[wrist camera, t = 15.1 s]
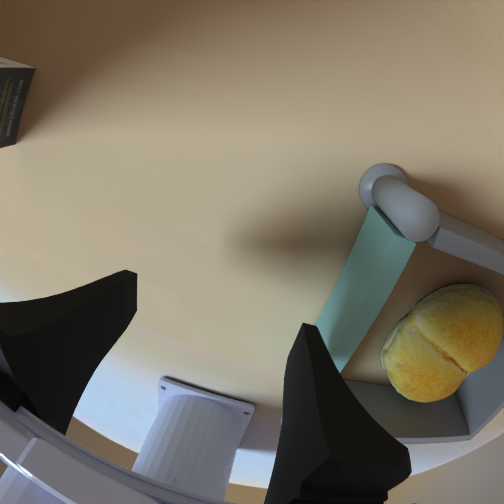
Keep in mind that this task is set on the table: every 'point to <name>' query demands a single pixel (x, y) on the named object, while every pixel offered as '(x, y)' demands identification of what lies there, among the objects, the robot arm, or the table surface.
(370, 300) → the teal flat bar
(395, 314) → the table surface
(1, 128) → the cake mix box
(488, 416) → the grey open box
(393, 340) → the bread roll
